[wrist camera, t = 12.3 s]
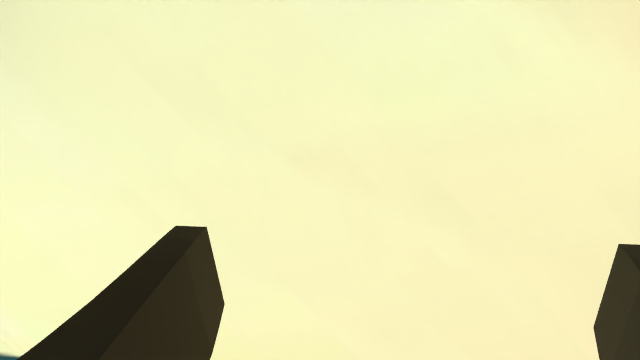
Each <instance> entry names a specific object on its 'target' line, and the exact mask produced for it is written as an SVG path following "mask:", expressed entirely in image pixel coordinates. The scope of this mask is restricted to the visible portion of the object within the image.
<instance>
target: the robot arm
mask: <svg viewBox="0 0 640 360" xmlns="http://www.w3.org/2000/svg"><path fill="white" fill-rule="evenodd" d="M223 308H224V300H223V295H222V291H221V287H220V282H219V278H218V274H217V270H216V265H215V261H214V257H213V252H212V248H211V244H210V240H209V235H208V231H207V227H193V226H175V227H174V228H173V229H172V230H170V231H169V232H168V233H167V234H166V235H165V236H163V237H162V238H161V239H160V240H159V241H158V242H157V243H156V244H155V245H153V246H152V247H151V248H150V249H149V250H148V251H147V252H146V253H145V254H143V255H142V256H141V257H140V258H139V259H138V260H137V261H136V262H135V263H134V264H132V265H131V266H130V267H129V268H128V269H127V270H126V271H125V272H123V273H122V274H121V275H120V276H119V277H118V278H117V279H116V280H114V281H113V282H112V283H111V284H110V285H109V286H108V287H106V288H105V289H104V290H103V291H102V292H101V293H100V294H98V295H97V296H96V297H95V298H94V299H93V300H92V301H90V302H89V303H88V304H87V305H86V306H84V307H83V308H82V309H81V310H79V311H78V312H77V313H76V314H74V315H73V316H72V317H71V318H69V319H68V320H67V321H66V322H64V323H63V324H62V325H61V326H59V327H58V328H57V329H56V330H55V331H53V332H52V333H51V334H50V335H48V336H47V337H46V338H45V339H43V340H42V341H41V342H40V343H38V344H37V345H36V346H34V347H33V348H32V349H30V350H29V351H28V352H26V353H25V354H24V355H22V356H21V357H19V358H18V359H17V360H210V358H211V355H212V352H213V348H214V344H215V341H216V337H217V333H218V329H219V325H220V321H221V317H222V312H223ZM594 332H595V338H596V343H597V348H598V354H599V359H600V360H640V245H631V244H619V245H618V248H617V252H616V255H615V258H614V261H613V265H612V268H611V271H610V275H609V278H608V281H607V284H606V288H605V291H604V294H603V298H602V301H601V304H600V307H599V311H598V314H597V317H596V321H595V324H594Z"/></svg>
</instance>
